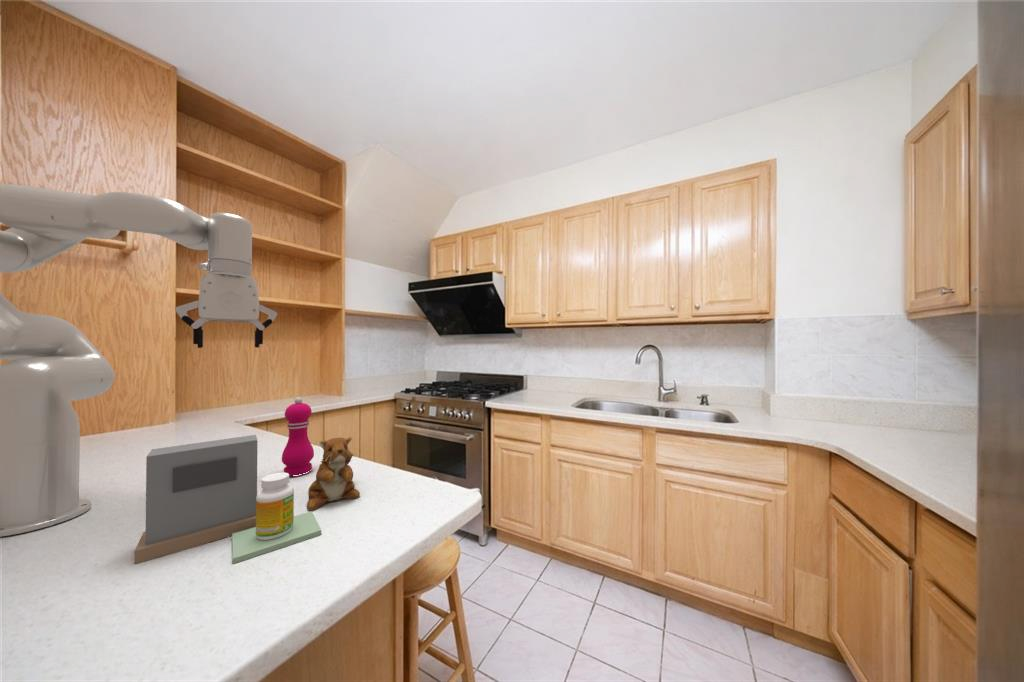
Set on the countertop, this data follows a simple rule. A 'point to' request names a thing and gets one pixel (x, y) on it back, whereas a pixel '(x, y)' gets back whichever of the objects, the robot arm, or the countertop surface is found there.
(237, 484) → the panel
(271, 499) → the supplement bottle
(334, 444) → the stuffed squirrel
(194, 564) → the countertop surface
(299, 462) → the pepper mill
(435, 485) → the countertop surface
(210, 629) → the countertop surface
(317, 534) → the pad
